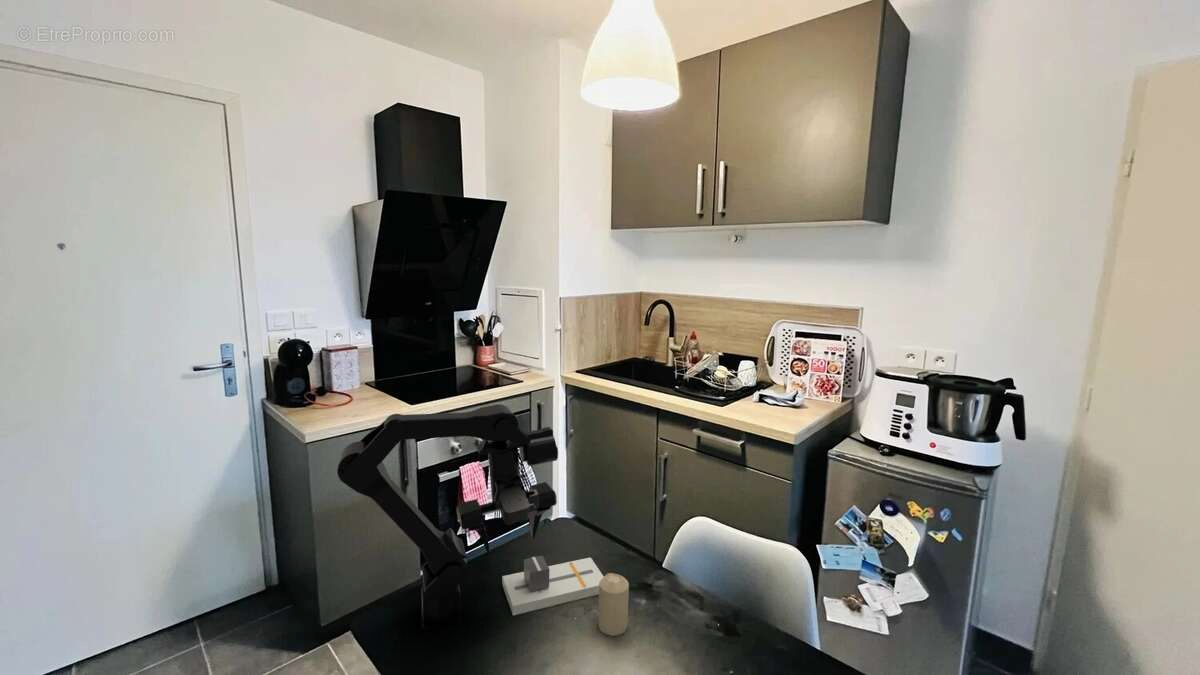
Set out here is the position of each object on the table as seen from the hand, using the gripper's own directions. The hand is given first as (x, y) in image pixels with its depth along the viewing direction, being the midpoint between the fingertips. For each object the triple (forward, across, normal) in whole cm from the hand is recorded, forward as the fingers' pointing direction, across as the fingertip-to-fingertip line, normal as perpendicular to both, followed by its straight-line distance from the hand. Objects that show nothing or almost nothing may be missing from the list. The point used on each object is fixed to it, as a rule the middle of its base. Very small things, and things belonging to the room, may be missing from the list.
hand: (510, 544), depth 98 cm
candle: (+13, +14, -15) cm, 25 cm away
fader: (+10, +5, 0) cm, 11 cm away
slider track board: (+12, +8, 0) cm, 15 cm away
